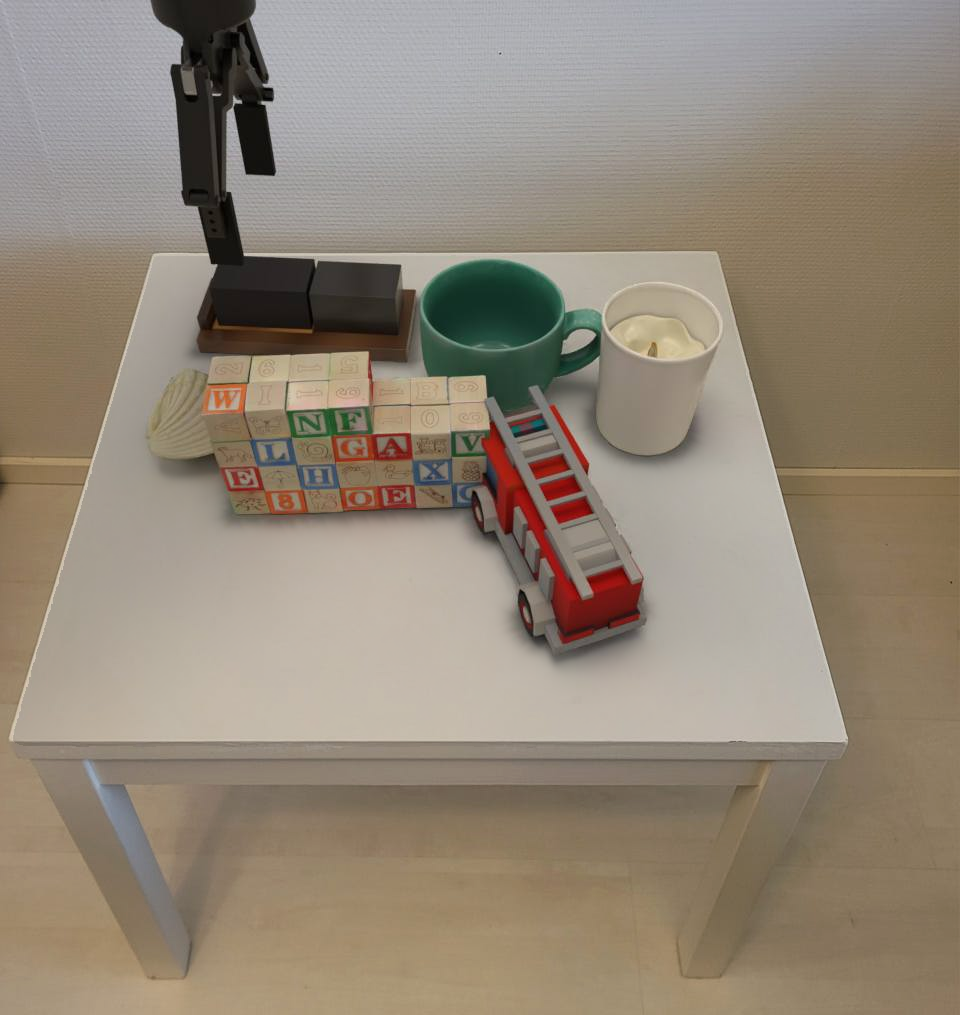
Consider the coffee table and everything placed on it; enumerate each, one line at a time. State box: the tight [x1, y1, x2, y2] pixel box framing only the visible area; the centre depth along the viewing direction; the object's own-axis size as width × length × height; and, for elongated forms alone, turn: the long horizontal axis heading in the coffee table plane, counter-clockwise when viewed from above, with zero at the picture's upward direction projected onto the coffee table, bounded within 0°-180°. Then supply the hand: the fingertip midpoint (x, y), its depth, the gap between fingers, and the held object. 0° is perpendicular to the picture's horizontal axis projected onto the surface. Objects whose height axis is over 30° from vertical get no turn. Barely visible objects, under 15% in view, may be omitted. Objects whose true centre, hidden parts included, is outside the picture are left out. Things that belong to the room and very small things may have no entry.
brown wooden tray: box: [196, 260, 417, 363], centre depth 92 cm, size 20×9×6 cm, turn 87°
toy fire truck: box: [471, 385, 648, 656], centre depth 73 cm, size 9×19×10 cm, turn 21°
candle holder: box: [595, 281, 725, 456], centre depth 82 cm, size 10×10×12 cm
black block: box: [209, 255, 316, 330], centre depth 92 cm, size 9×5×4 cm, turn 87°
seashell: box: [145, 368, 214, 460], centre depth 83 cm, size 8×8×8 cm
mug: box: [418, 258, 602, 413], centre depth 86 cm, size 17×13×10 cm
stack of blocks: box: [202, 352, 490, 515], centre depth 77 cm, size 21×6×12 cm, turn 93°
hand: (245, 215), depth 85 cm, fingers open, 13 cm apart
